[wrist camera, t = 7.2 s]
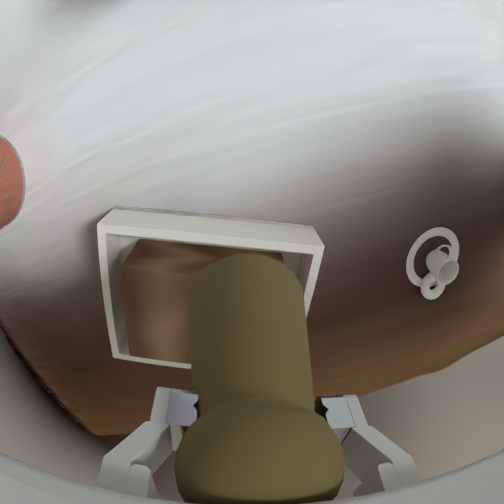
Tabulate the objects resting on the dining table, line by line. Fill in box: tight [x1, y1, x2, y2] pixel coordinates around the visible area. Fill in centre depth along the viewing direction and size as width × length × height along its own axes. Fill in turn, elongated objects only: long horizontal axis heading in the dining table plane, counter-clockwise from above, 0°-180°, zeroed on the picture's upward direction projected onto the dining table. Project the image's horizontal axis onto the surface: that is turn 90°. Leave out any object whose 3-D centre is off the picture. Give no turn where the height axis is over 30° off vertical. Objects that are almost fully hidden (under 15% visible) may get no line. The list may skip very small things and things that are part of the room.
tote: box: [97, 206, 324, 369], centre depth 32 cm, size 20×16×5 cm
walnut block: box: [120, 239, 285, 364], centre depth 30 cm, size 14×10×6 cm
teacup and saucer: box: [406, 227, 459, 300], centre depth 33 cm, size 9×8×4 cm
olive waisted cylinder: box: [174, 253, 345, 504], centre depth 12 cm, size 6×6×11 cm
